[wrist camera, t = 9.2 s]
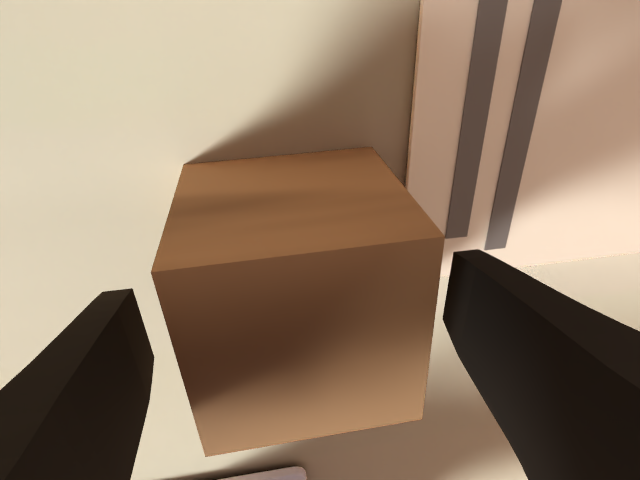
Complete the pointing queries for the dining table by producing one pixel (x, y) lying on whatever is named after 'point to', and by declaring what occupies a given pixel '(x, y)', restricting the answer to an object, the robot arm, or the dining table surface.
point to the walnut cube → (298, 296)
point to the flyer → (528, 128)
